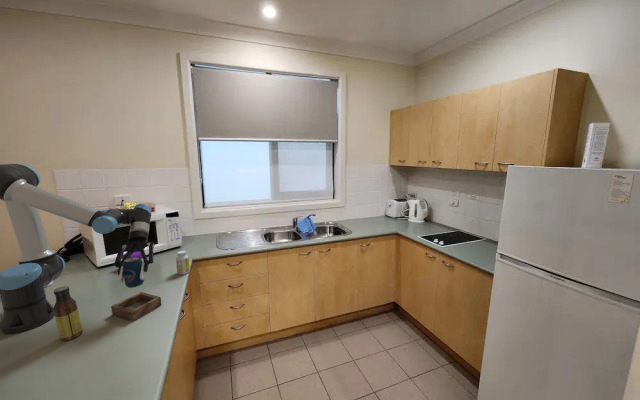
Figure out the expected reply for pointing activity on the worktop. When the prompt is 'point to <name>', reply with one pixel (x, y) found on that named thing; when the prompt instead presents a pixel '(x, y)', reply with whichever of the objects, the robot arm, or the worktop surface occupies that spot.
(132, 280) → the soda can
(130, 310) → the brown wooden shallow tray
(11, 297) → the robot arm
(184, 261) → the supplement bottle
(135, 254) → the toy camera
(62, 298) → the sauce bottle
